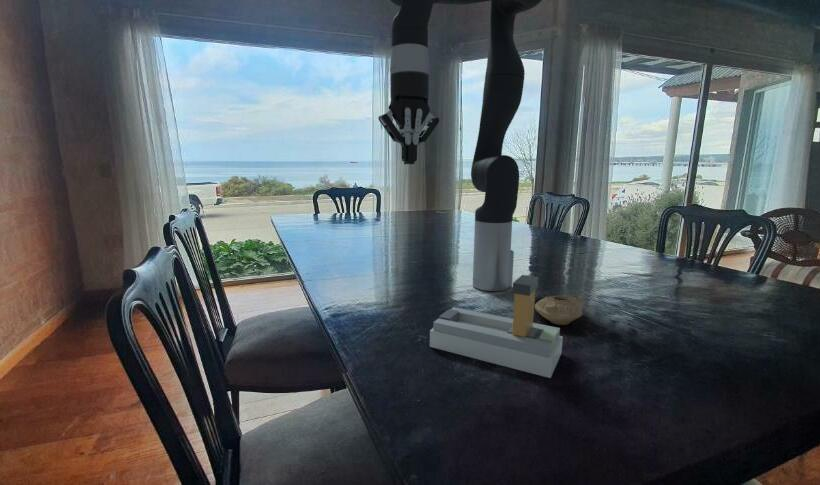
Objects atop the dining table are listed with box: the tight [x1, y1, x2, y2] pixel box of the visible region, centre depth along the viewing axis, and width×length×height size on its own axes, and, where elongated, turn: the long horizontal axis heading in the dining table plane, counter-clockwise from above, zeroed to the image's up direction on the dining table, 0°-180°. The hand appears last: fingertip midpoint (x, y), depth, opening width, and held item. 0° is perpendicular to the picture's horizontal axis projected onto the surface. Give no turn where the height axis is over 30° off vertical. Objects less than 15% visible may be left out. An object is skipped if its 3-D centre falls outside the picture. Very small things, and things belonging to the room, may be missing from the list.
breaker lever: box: [507, 274, 539, 339], centre depth 62 cm, size 4×5×10 cm
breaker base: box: [429, 306, 564, 379], centre depth 66 cm, size 20×9×5 cm, turn 60°
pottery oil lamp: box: [534, 294, 586, 326], centre depth 79 cm, size 9×12×7 cm
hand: (409, 164), depth 80 cm, fingers closed
